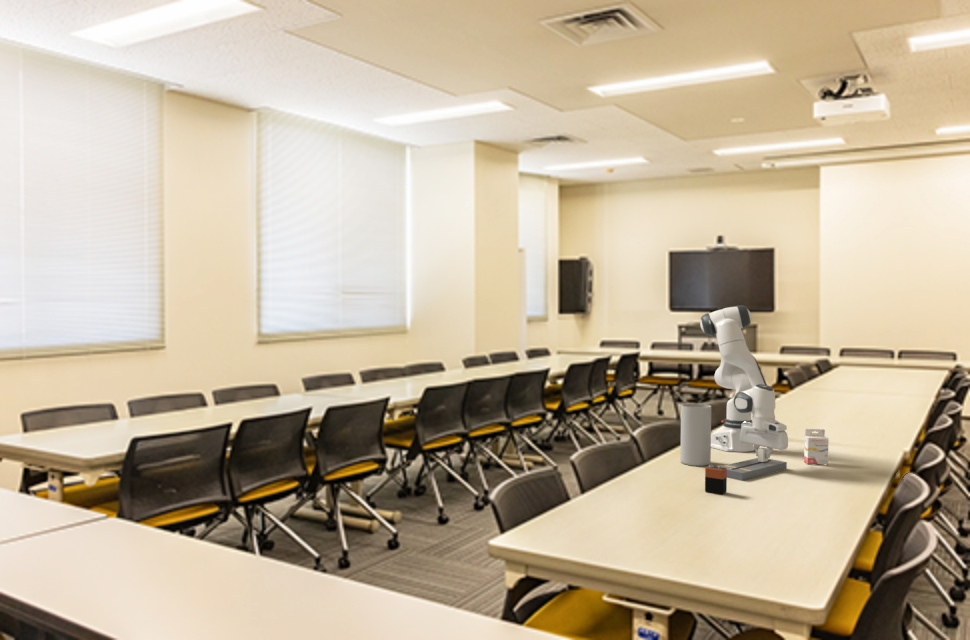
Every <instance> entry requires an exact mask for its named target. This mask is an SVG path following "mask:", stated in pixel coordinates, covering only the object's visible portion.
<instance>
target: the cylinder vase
mask: <svg viewBox="0 0 970 640" xmlns="http://www.w3.org/2000/svg"><path fill="white" fill-rule="evenodd" d="M680 405H681V406H680V463H682V464H684V465H687V466H691V467H692V466H693V467H694V466H695V467H704V466H705V467H707V466H709V465H711V463H712V462H711V461H712V460H711V458H712V457H711V455H712V453H711V449H712V447H711V435H712V405H710V404H706V403H689V402H688V403H682V404H680Z"/></svg>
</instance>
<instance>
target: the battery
mask: <svg viewBox="0 0 970 640" xmlns="http://www.w3.org/2000/svg"><path fill="white" fill-rule="evenodd" d="M723 466H724V465H721V464H720V465H717V466H714V465H713V464H709V465H707V466H705V467H704V468H705V469H704V471H705V472H704V480H705V481H704V492H706V493H709V494H716V495H724V494H726V493H727V486H728V485H727V483H728V481H727V479H728V477H727V469H726V468H723Z"/></svg>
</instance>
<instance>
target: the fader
mask: <svg viewBox="0 0 970 640" xmlns="http://www.w3.org/2000/svg"><path fill="white" fill-rule="evenodd" d="M767 452H768V450H767V447H761V448H759V449H758V456H757V458H758V461H760V462H761V463H765V461H768V459H769V458H765V453H767Z"/></svg>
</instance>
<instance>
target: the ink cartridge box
mask: <svg viewBox="0 0 970 640" xmlns="http://www.w3.org/2000/svg"><path fill="white" fill-rule="evenodd" d="M804 432H805V434H804V448H803V449H804V453H803V455H804V457H803V462H804V463H805V462H806V463H807V464H806V463H805V464H806V465H810V464H828V465H829V441H830V440H829V437H827V436H825V434H826V433H825V432H826V431H825V429H822V428H806V429H805V431H804Z"/></svg>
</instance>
